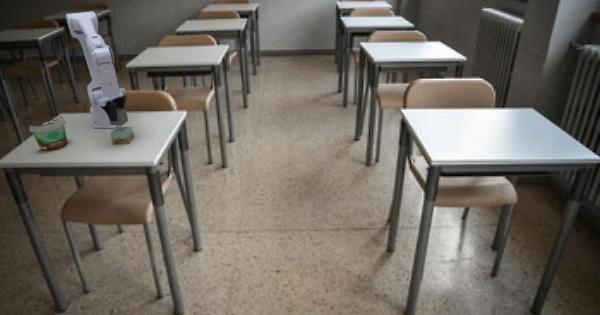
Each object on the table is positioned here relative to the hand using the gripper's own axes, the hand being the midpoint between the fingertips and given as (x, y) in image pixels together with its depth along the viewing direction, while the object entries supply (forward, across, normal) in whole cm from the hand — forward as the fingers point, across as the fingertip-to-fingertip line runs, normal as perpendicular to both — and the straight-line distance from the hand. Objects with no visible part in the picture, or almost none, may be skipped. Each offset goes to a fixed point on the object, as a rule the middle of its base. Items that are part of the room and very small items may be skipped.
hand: (117, 118), depth 153 cm
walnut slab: (+9, 0, 0) cm, 9 cm away
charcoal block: (+2, 0, 0) cm, 2 cm away
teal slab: (+7, 0, 0) cm, 7 cm away
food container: (+9, -7, +22) cm, 25 cm away
